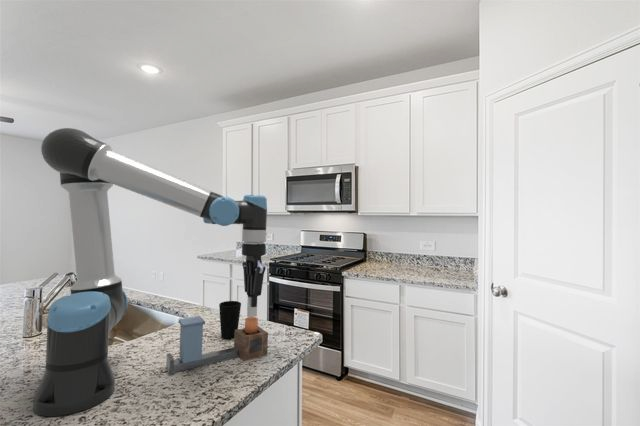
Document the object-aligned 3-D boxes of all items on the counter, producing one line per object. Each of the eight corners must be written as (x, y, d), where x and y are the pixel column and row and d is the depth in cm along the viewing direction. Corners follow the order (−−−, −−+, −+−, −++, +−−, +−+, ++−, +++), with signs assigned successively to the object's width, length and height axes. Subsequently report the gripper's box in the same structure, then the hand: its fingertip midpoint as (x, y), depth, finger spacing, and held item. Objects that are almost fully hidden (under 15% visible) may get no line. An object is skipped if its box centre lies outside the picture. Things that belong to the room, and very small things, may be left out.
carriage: (181, 364, 86) (183, 325, 87) (177, 356, 91) (178, 319, 91) (203, 359, 90) (205, 321, 90) (198, 352, 94) (199, 316, 95)
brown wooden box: (243, 361, 94) (244, 338, 94) (233, 351, 101) (234, 329, 101) (267, 355, 99) (268, 333, 99) (256, 346, 106) (257, 325, 106)
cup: (226, 342, 108) (227, 307, 108) (213, 337, 113) (214, 303, 113) (244, 336, 114) (245, 303, 114) (231, 331, 119) (232, 299, 119)
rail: (169, 375, 85) (170, 360, 85) (166, 367, 89) (166, 353, 89) (243, 357, 97) (243, 344, 97) (237, 351, 101) (237, 339, 101)
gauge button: (247, 334, 97) (248, 321, 97) (242, 330, 101) (243, 318, 101) (259, 332, 100) (259, 319, 100) (254, 328, 103) (254, 316, 103)
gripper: (273, 244, 98) (271, 320, 97) (256, 241, 108) (254, 309, 108) (251, 244, 93) (248, 324, 93) (235, 241, 104) (233, 312, 103)
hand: (251, 316), depth 100 cm, fingers closed
